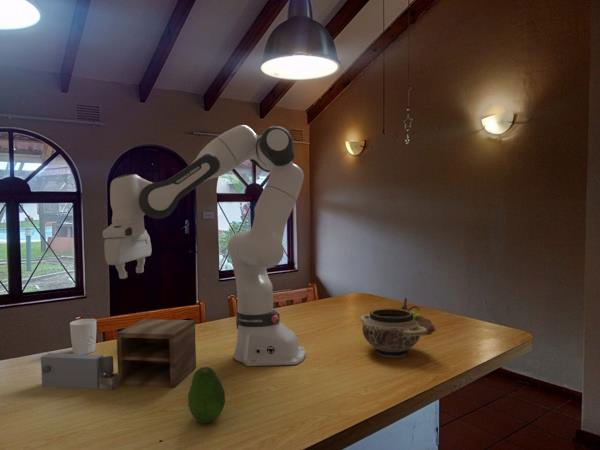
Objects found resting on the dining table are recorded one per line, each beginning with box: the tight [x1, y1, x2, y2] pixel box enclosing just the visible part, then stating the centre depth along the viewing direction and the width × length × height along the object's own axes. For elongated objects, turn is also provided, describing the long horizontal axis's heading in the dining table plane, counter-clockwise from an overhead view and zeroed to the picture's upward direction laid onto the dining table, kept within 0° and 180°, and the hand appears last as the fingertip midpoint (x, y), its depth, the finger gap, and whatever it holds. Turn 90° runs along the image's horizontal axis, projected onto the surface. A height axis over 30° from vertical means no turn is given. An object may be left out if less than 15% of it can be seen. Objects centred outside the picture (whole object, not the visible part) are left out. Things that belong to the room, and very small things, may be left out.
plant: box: [399, 297, 434, 335], centre depth 165 cm, size 20×20×11 cm
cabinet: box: [98, 318, 197, 391], centre depth 119 cm, size 19×17×14 cm
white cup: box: [69, 318, 97, 355], centre depth 143 cm, size 8×8×10 cm
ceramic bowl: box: [359, 307, 428, 358], centre depth 136 cm, size 24×18×15 cm
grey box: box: [40, 352, 115, 390], centre depth 114 cm, size 20×4×8 cm, turn 82°
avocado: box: [187, 366, 226, 424], centre depth 94 cm, size 8×8×12 cm
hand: (132, 275), depth 129 cm, fingers open, 8 cm apart
